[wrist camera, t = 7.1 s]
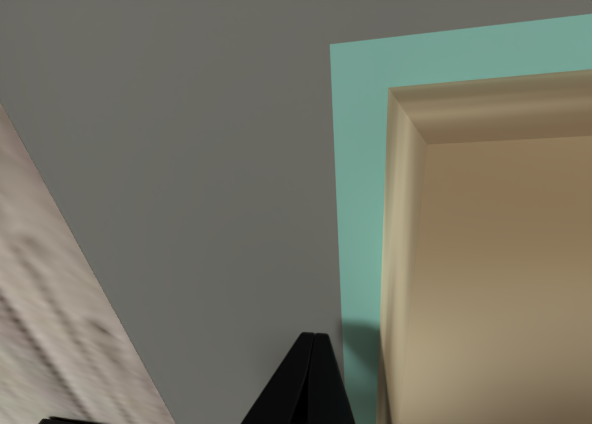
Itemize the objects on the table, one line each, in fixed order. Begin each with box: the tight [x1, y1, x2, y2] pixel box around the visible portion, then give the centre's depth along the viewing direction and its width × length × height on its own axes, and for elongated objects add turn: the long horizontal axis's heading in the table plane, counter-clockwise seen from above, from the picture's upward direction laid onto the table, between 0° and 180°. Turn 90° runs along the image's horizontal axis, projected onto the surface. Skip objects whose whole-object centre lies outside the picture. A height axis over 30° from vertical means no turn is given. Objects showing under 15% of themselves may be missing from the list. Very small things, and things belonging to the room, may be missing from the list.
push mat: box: [0, 0, 592, 424], centre depth 9 cm, size 20×24×1 cm
